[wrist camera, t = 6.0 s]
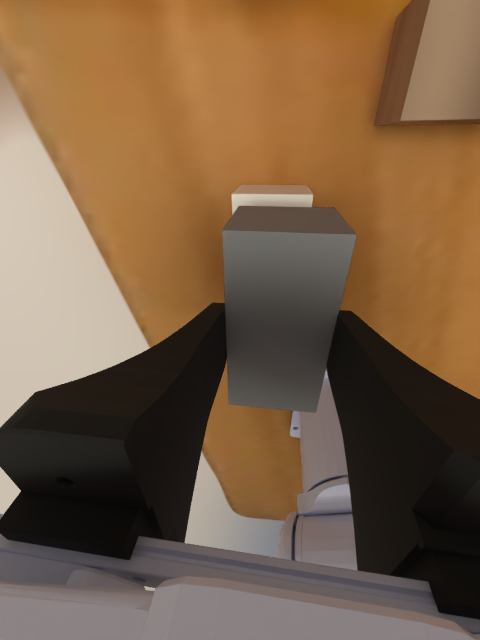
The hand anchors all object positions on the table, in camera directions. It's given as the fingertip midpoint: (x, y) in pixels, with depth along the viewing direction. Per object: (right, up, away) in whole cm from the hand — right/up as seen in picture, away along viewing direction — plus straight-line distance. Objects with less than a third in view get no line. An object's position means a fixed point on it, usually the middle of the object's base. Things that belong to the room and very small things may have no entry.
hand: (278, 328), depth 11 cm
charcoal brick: (0, +2, +3) cm, 3 cm away
